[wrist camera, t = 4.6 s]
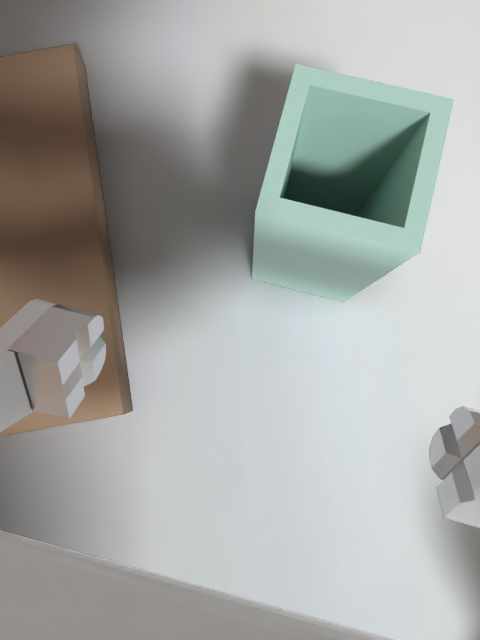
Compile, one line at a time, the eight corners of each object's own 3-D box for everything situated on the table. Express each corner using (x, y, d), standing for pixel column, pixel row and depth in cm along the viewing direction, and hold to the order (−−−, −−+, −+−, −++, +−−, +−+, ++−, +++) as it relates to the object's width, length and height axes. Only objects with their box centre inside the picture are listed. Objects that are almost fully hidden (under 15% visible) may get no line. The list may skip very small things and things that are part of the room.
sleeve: (342, 302, 20) (419, 251, 11) (251, 278, 20) (255, 211, 11) (363, 214, 20) (453, 99, 12) (274, 193, 21) (295, 63, 12)
